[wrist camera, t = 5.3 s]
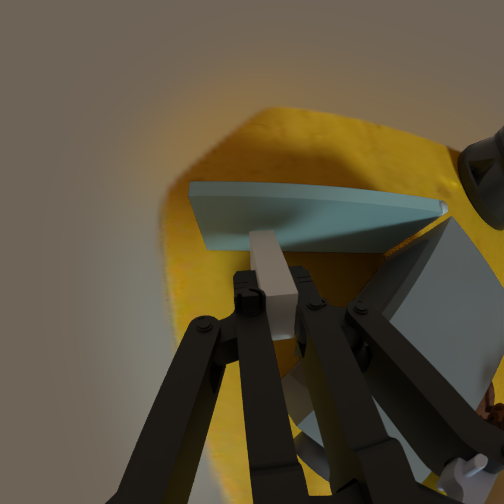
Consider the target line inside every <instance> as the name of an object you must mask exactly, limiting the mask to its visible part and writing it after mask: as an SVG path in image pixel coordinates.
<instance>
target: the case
mask: <svg viewBox="0 0 504 504" xmlns="http://www.w3.org/2000/svg"><path fill="white" fill-rule="evenodd" d="M354 300H363V301H366V302H368V303H370V304H371V305H372V306H374V307H375V308H376V309H377V310H378V311H379V312H380V313H381V314H382V315H383V316H384V317H385V318H386V319H387V320H388V321H389V322H390V323H391V324H392V325H393V326H394V327H395V328H396V329H397V330H398V331H399V332H400V333H401V334H402V335H403V336H404V337H405V338H406V339H407V340H408V341H409V342H410V343H411V344H412V345H413V346H414V347H415V348H416V349H417V350H418V351H419V352H420V353H421V354H422V355H423V356H424V357H425V358H426V359H427V360H428V361H429V362H430V363H431V364H432V365H433V366H434V367H435V368H436V369H437V370H438V371H439V372H440V373H441V375H442V376H443V377H444V378H445V379H446V380H447V381H448V382H449V383H450V384H451V385H452V386H453V387H454V388H455V389H456V391H457V392H458V393H459V394H460V395H461V396H462V397H463V398H464V399H465V400H466V402H467V403H468V404H469V405H470V406H471V407H472V408H473V409H474V411H475V410H476V409H477V407H478V405H479V403H480V402H481V400H482V398H483V396H484V394H485V393H486V391H487V389H488V387H489V385H490V383H491V381H492V379H493V377H494V375H495V372H496V370H497V368H498V366H499V364H500V361H501V359H502V357H503V354H504V289H503V287H502V285H501V284H500V282H499V280H498V279H497V277H496V276H495V274H494V272H493V271H492V269H491V268H490V266H489V265H488V263H487V262H486V260H485V259H484V257H483V256H482V255H481V253H480V252H479V250H478V249H477V248H476V246H475V245H474V243H473V242H472V241H471V239H470V238H469V237H468V236H467V234H466V233H465V232H464V230H463V229H462V228H461V227H460V225H459V224H458V223H457V222H456V220H455V219H454V218H453V217H452V216H451V217H449V218H448V219H446V220H445V221H443V222H442V223H440V224H439V225H437V226H436V227H434V228H433V229H431V230H429V231H428V232H426V233H425V234H423V235H422V236H420V237H418V238H417V239H415V240H414V241H412V242H410V243H409V244H407V245H405V246H404V247H402V248H400V249H399V250H397V251H395V252H394V253H392V254H390V255H389V256H387V258H386V259H385V261H384V262H383V263H382V265H381V266H380V267H379V269H378V270H377V271H376V273H375V274H374V275H373V277H372V278H371V279H370V281H369V282H368V283H367V284H366V286H365V287H364V288H363V289H362V291H361V292H360V293H359V294H358V296H357V297H356V298H355V299H354ZM281 383H282V388H283V393H284V397H285V402H286V407H287V412H288V414H289V415H290V417H291V418H292V420H293V422H294V423H295V425H296V426H297V427H298V428H299V429H301V430H302V431H301V432H300V433H299V434H298V435H297V436H296V437H295V438H294V439H293V440H294V445H295V450H296V454H297V455H298V456H299V457H300V458H301V459H302V460H303V461H304V462H305V463H306V464H307V465H308V466H309V467H310V468H311V469H312V470H313V471H315V472H316V473H317V474H318V475H320V476H321V477H322V478H324V479H325V480H327V481H328V482H329V477H330V469H329V465H328V461H327V457H326V453H325V449H324V446H323V442H322V438H321V434H320V431H319V427H318V423H317V419H316V416H315V412H314V408H313V405H312V401H311V397H310V394H309V390H308V386H307V383H306V379H305V376H304V372H303V368H302V365H301V361H299V362H298V363H297V364H296V365H295V366H294V367H293V368H292V369H291V370H290V371H289V372H288V373H287V374H286V375H285V376H284V377H283V378H282V379H281ZM373 400H374V402H375V404H376V407H377V409H378V411H379V414H380V416H381V419H382V421H383V424H384V426H385V429H386V431H387V433H388V435H389V436H390V437H393V438H396V439H398V440H399V441H400V443H401V445H402V446H403V449H404V451H405V454H406V456H407V459H408V462H409V464H410V467H411V470H412V472H413V475H414V478H415V480H416V481H417V482H419V483H422V482H423V481H424V480H425V479H426V478H427V477H428V475H429V474H430V473H431V472H432V471H431V470H430V469H429V468H427V467H426V465H425V464H424V463H423V462H422V461H421V460H420V458H419V457H418V456H417V454H416V453H415V452H414V450H413V449H412V448H411V446H410V445H409V444H408V443H407V441H406V440H405V439H404V437H403V436H402V435H401V433H400V432H399V431H398V429H397V428H396V427H395V425H394V424H393V423H392V421H391V420H390V419H389V418H388V416H387V415H386V414H385V412H384V411H383V410H382V408H381V407H380V406H379V404H378V403H377V402H376V401H375V399H374V398H373Z"/></svg>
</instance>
